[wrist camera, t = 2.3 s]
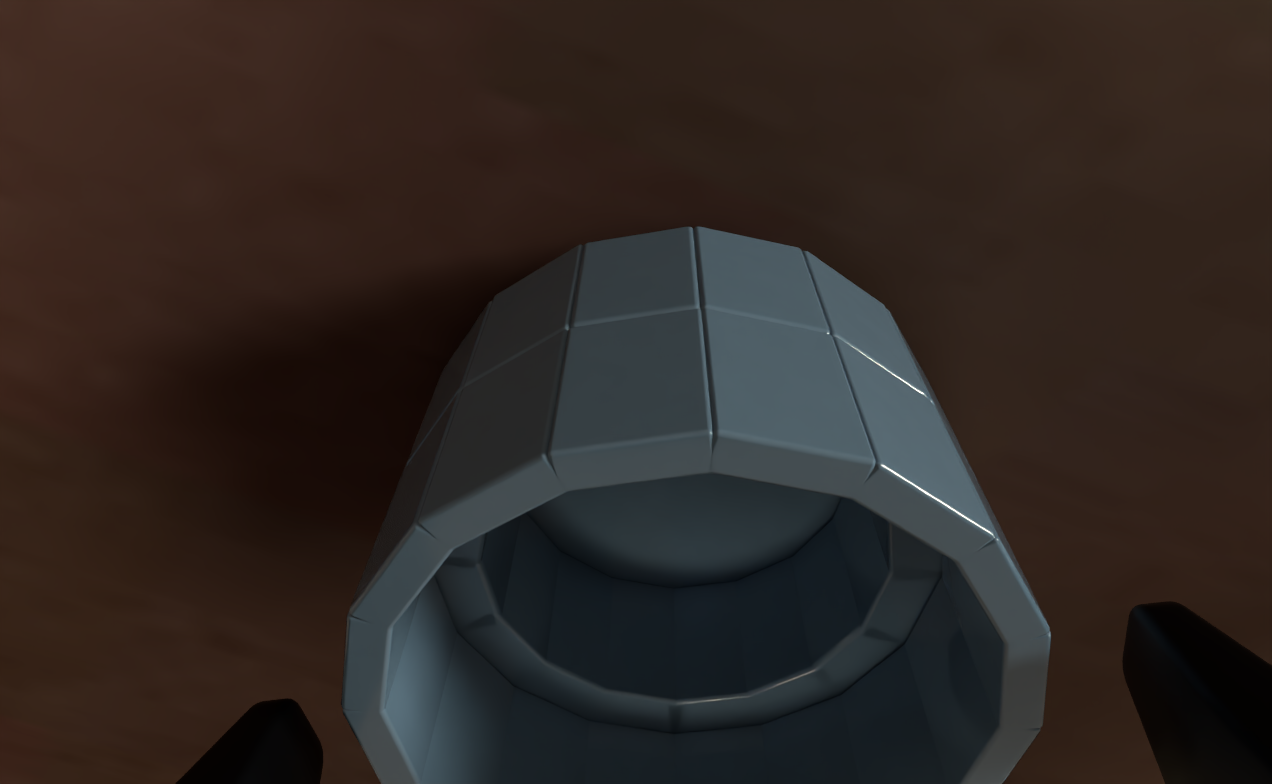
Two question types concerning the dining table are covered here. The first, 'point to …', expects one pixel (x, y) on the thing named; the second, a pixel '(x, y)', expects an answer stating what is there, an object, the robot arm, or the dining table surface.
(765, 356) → the slate bowl
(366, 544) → the dining table surface
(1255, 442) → the dining table surface
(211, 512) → the dining table surface
